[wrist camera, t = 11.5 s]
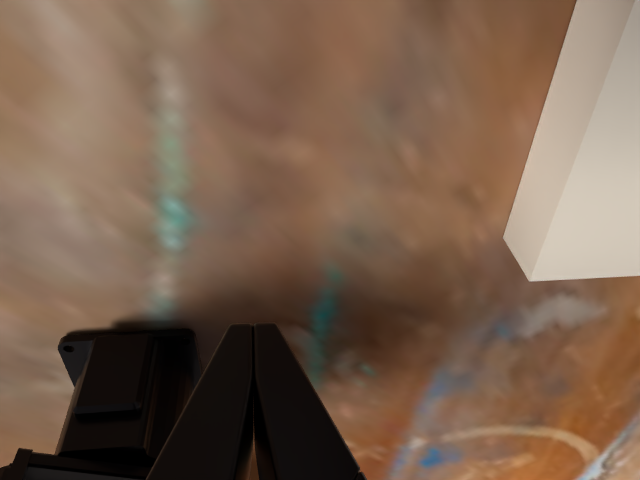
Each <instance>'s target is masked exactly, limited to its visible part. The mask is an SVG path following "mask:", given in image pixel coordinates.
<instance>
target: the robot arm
mask: <svg viewBox="0 0 640 480" xmlns="http://www.w3.org/2000/svg"><path fill="white" fill-rule="evenodd" d="M184 338H185V339H184ZM58 351H59V353H60V355H61V358H62V360H63V362H64V364H65V367H66V369H67V371H68V374H69V376H70V378H71V380H72V383H73V385H74V387H75V389H74V392H73V396H72V399H71V402H70V405H69V409H68V412H67V415H66V418H65V422H64V425H63V428H62V431H61V435H60V438H59V441H58V444H57V448H56V451H55V454H54V455H52V454H44V453H36V452H33V450H31V449H23V448H19V449H18V451H17V454H16V456H15V458H14V461H13V463H10V465H8V466H4V467H1V468H0V480H249V479H250V470H251V461H252V452H253V435H254V442H255V451H256V459H257V467H258V474H259V480H367V479H366V477H365V475H364V474H363V472H360V467H359V465H358V464H357V462H356V460H355V458H354V457H353V455H352V453H351V451H350V450H349V448H348V446H347V445H346V443H345V441H344V439H343V438H342V436H341V434H340V432H339V431H338V429H337V427H336V425H335V424H334V422H333V420H332V419H331V417H330V415H329V413H328V412H327V410H326V408H325V406H324V405H323V403H322V401H321V400H320V398H319V396H318V394H317V393H316V391H315V389H314V387H313V386H312V384H311V382H310V380H309V379H308V377H307V375H306V374H305V372H304V370H303V368H302V367H301V365H300V363H299V361H298V360H297V358H296V356H295V355H294V353H293V351H292V349H291V348H290V346H289V344H288V342H287V341H286V339H285V337H284V335H283V334H282V332H281V330H280V329H279V327H278V325H277V324H276V323H274V322H257V323H255V324H254V325H252V324H251V323H232V324H230V325H229V326H228V328H227V330H226V331H225V333H224V335H223V337H222V339H221V341H220V343H219V344H218V346H217V348H216V350H215V352H214V354H213V356H212V358H211V359H210V361H209V363H208V365H207V367H206V369H205V371H204V372H202V367H201V361H200V356H199V350H198V345H197V339H196V335H195V333H194V332H193V331H192V330H189V329H175V330H158V331H140V332H123V333H106V334H89V335H72V336H64V337H63V338H61V340H60V342H59V345H58ZM253 386H254V390H253Z"/></svg>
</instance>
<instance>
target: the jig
mask: <svg viewBox="0 0 640 480" xmlns="http://www.w3.org/2000/svg"><path fill="white" fill-rule="evenodd" d="M503 239H504V240H505V242H506V244H507V245H508V247H509V249H510V250H511V252H512V254H513V255H514V257H515V259H516V260H517V262H518V263H519V265H520V267H521V268H522V270H523V272H524V273H525V275H526V277H527V278H528V280H529V282H530V281H548V280H567V279H586V278H605V277H623V276H640V0H577V2H576V5H575V8H574V11H573V14H572V18H571V21H570V24H569V27H568V31H567V34H566V37H565V40H564V43H563V47H562V50H561V53H560V56H559V59H558V63H557V66H556V69H555V72H554V75H553V79H552V82H551V85H550V88H549V92H548V95H547V98H546V101H545V104H544V108H543V111H542V114H541V117H540V120H539V124H538V127H537V130H536V133H535V136H534V140H533V143H532V146H531V149H530V153H529V156H528V159H527V162H526V165H525V169H524V172H523V175H522V178H521V181H520V185H519V188H518V191H517V194H516V198H515V201H514V204H513V207H512V210H511V214H510V217H509V220H508V223H507V226H506V230H505V233H504V236H503Z"/></svg>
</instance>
